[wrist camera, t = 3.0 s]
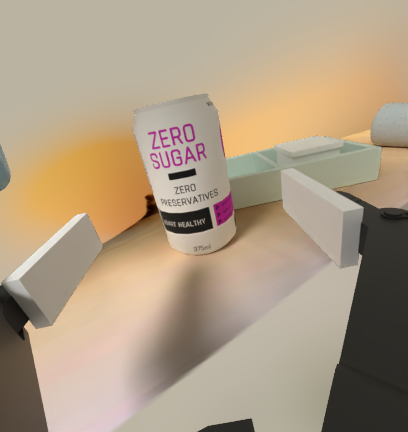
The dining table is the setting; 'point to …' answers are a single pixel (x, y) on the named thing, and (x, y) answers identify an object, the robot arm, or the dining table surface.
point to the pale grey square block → (307, 150)
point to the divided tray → (315, 169)
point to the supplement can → (187, 172)
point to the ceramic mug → (391, 125)
